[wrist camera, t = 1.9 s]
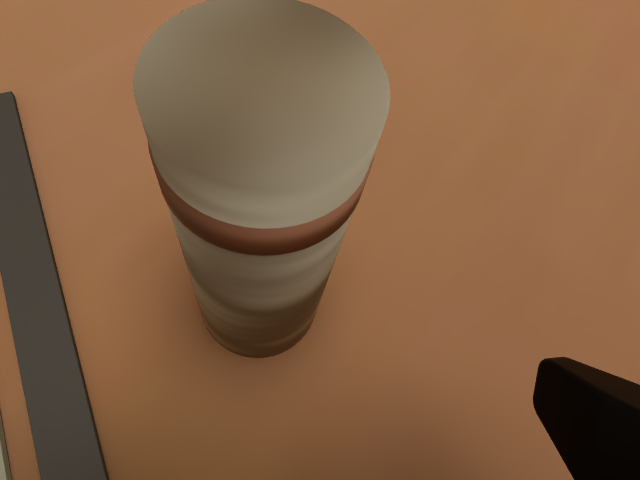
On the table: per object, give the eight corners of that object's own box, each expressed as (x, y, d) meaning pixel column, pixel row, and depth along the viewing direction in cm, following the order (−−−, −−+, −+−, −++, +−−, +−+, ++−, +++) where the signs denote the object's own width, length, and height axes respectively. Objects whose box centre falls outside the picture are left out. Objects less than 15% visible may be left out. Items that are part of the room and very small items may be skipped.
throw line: (205, 872, 13) (204, 880, 13) (132, 926, 12) (129, 936, 12) (14, 95, 24) (11, 91, 24) (-30, 104, 24) (-33, 100, 23)
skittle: (332, 272, 22) (419, 42, 10) (291, 377, 19) (346, 229, 8) (231, 233, 22) (206, -34, 11) (178, 331, 20) (74, 124, 8)
